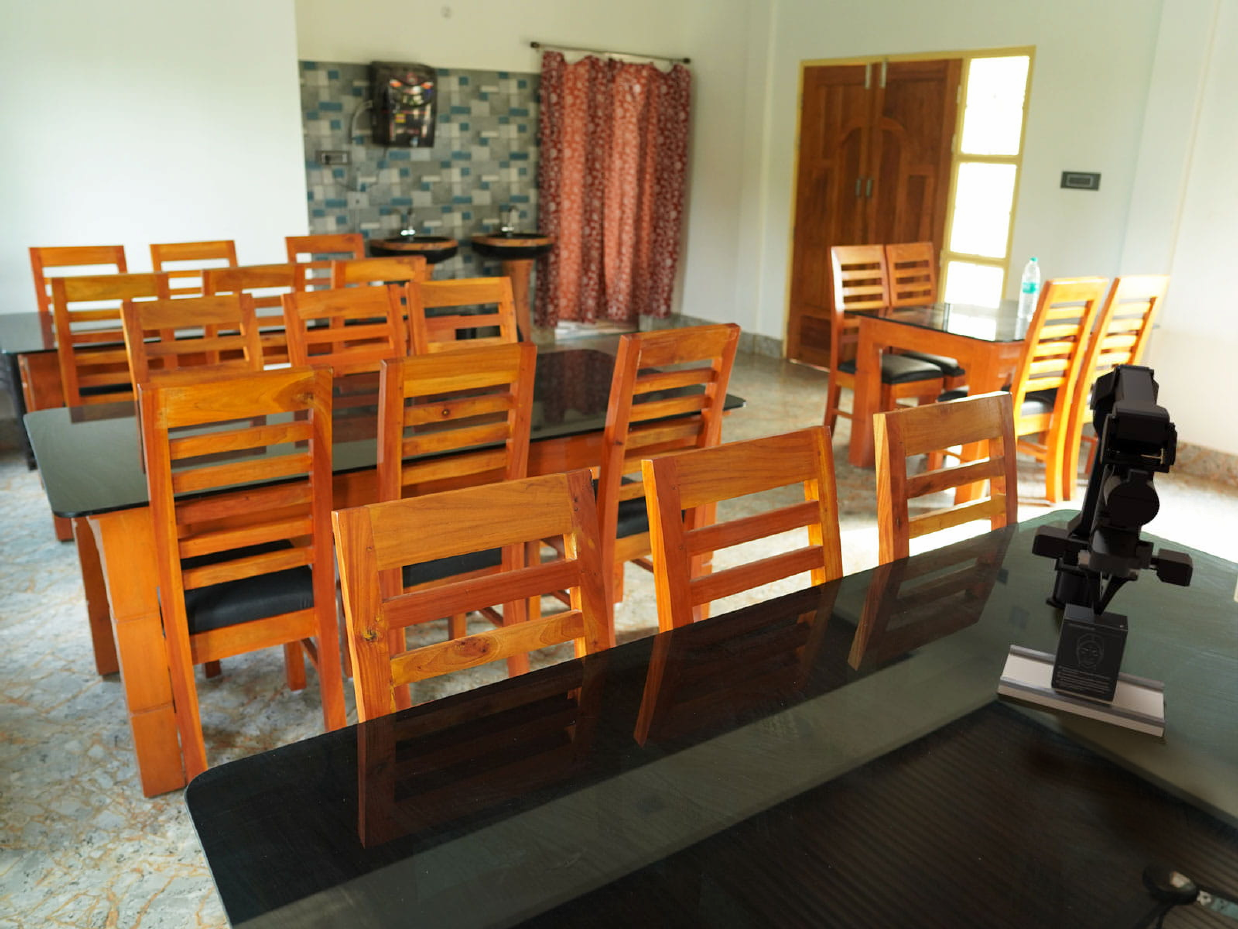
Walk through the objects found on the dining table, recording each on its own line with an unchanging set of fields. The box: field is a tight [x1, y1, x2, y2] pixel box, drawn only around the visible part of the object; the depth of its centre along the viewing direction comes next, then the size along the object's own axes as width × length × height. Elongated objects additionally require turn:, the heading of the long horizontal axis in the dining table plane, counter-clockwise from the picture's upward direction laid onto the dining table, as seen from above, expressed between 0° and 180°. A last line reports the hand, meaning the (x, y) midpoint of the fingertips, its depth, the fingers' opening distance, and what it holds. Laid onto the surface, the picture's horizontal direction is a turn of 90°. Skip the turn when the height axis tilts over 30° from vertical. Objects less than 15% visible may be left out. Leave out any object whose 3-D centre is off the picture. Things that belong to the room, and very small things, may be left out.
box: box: [1051, 604, 1129, 701], centre depth 135 cm, size 8×6×11 cm
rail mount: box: [997, 644, 1166, 738], centre depth 137 cm, size 20×12×2 cm, turn 63°
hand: (1097, 614), depth 133 cm, fingers closed
